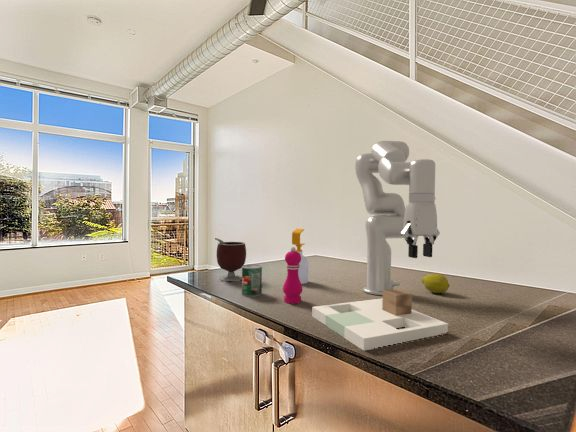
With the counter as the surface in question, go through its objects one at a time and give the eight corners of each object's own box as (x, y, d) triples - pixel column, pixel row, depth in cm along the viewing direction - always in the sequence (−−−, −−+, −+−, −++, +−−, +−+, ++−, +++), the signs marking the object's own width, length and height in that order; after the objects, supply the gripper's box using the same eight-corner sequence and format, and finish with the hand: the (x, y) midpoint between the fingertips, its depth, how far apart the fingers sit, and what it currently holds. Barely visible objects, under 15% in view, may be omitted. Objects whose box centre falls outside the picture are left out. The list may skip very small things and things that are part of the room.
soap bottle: (311, 281, 153) (312, 228, 152) (301, 285, 145) (302, 230, 145) (295, 279, 158) (295, 228, 157) (284, 282, 150) (285, 229, 149)
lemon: (453, 294, 133) (453, 274, 133) (443, 297, 129) (444, 277, 128) (428, 288, 142) (428, 270, 142) (418, 291, 137) (418, 272, 137)
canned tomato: (265, 293, 132) (265, 265, 131) (253, 297, 125) (254, 268, 125) (249, 290, 136) (250, 263, 135) (237, 294, 129) (237, 266, 129)
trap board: (383, 306, 115) (383, 298, 115) (447, 334, 91) (448, 323, 91) (312, 316, 104) (312, 306, 104) (363, 350, 80) (363, 338, 79)
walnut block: (397, 307, 104) (397, 288, 104) (411, 313, 99) (411, 293, 99) (382, 309, 102) (382, 290, 102) (395, 315, 97) (396, 295, 96)
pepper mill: (300, 304, 117) (301, 248, 116) (280, 303, 118) (281, 247, 117) (303, 299, 124) (304, 246, 123) (284, 297, 125) (285, 245, 125)
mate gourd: (236, 274, 166) (236, 235, 166) (251, 279, 156) (252, 237, 155) (208, 278, 156) (208, 236, 156) (222, 284, 146) (222, 239, 145)
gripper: (432, 200, 110) (431, 254, 110) (391, 199, 103) (390, 256, 104) (451, 199, 103) (450, 257, 104) (409, 198, 96) (407, 260, 97)
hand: (420, 256), depth 104 cm, fingers open, 5 cm apart
